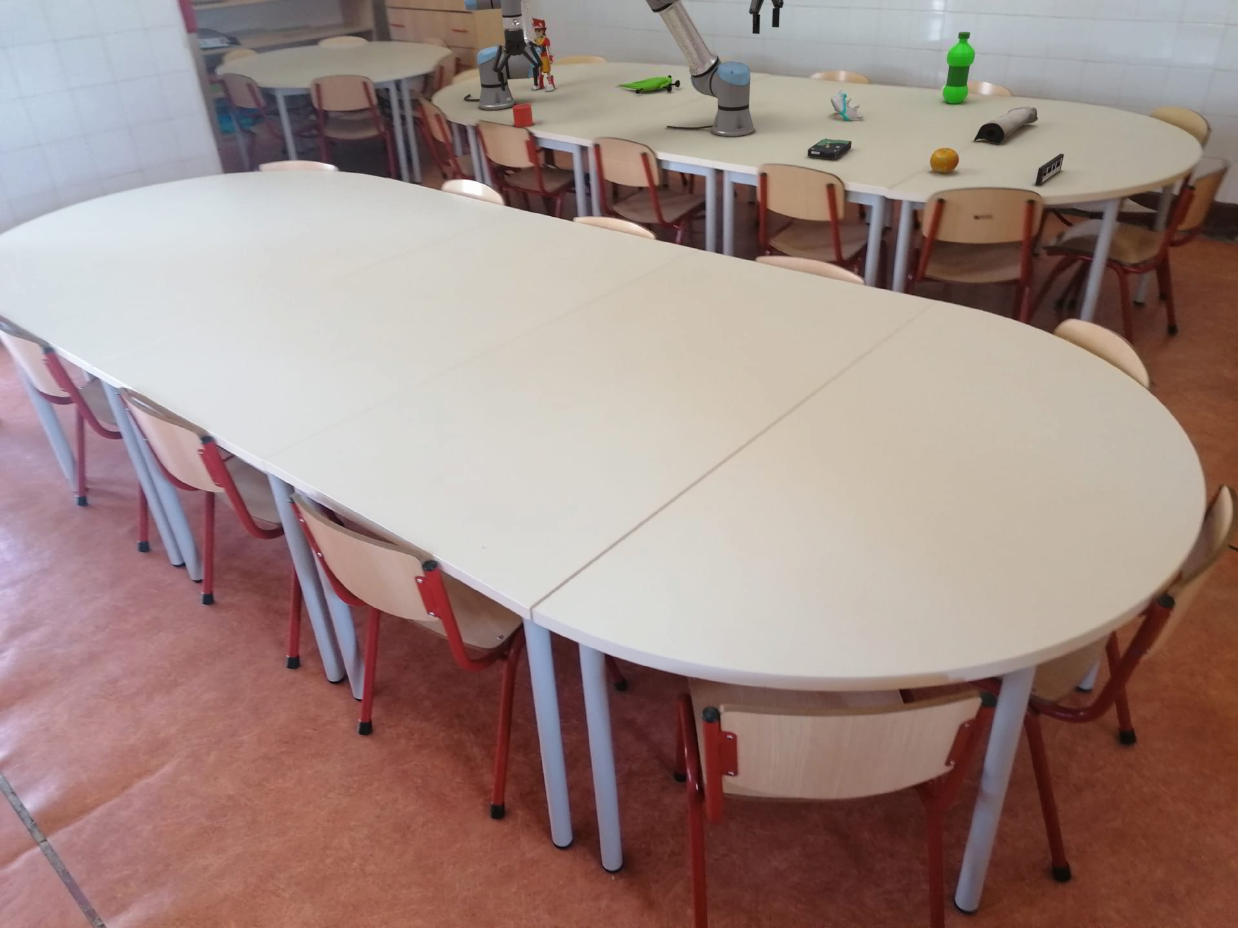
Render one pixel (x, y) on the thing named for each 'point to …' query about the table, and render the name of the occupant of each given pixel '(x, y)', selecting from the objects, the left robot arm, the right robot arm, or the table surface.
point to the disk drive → (829, 149)
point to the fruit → (944, 160)
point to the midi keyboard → (1049, 169)
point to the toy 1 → (543, 54)
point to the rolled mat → (1006, 124)
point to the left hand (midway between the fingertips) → (519, 88)
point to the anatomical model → (845, 107)
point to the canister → (522, 115)
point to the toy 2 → (652, 84)
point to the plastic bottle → (958, 69)
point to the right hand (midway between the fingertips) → (765, 30)
